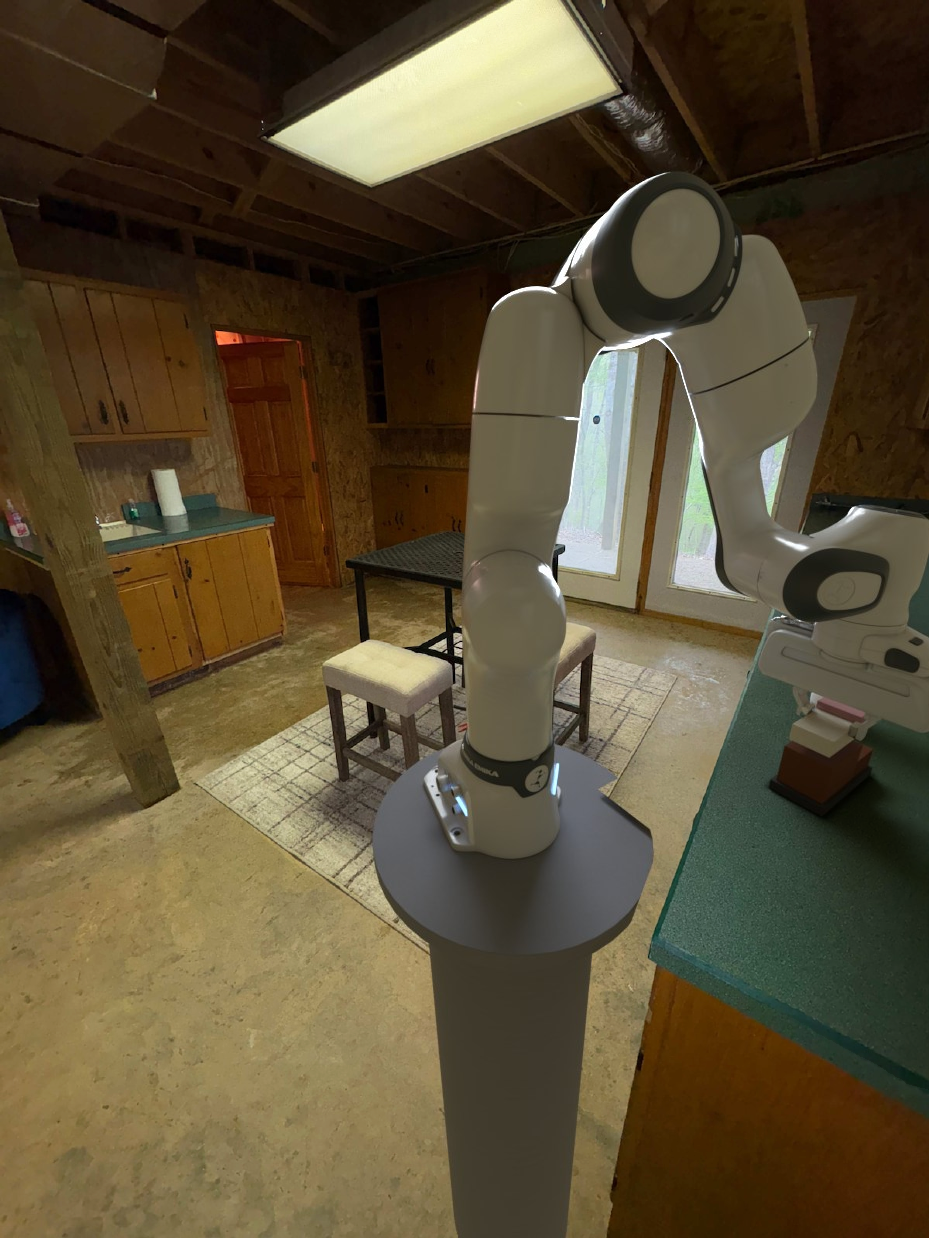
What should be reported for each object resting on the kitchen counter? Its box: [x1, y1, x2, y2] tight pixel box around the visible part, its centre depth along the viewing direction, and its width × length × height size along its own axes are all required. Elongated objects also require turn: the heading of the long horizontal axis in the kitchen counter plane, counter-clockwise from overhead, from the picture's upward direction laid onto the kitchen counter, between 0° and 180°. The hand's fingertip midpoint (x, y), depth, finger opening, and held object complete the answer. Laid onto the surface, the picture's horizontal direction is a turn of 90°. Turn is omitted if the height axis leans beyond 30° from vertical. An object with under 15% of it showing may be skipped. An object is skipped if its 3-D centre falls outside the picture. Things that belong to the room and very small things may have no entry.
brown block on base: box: [768, 740, 874, 817], centre depth 70 cm, size 15×7×8 cm, turn 122°
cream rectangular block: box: [788, 697, 868, 758], centre depth 67 cm, size 10×5×4 cm, turn 122°
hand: (829, 726), depth 67 cm, fingers closed on cream rectangular block, 5 cm apart
